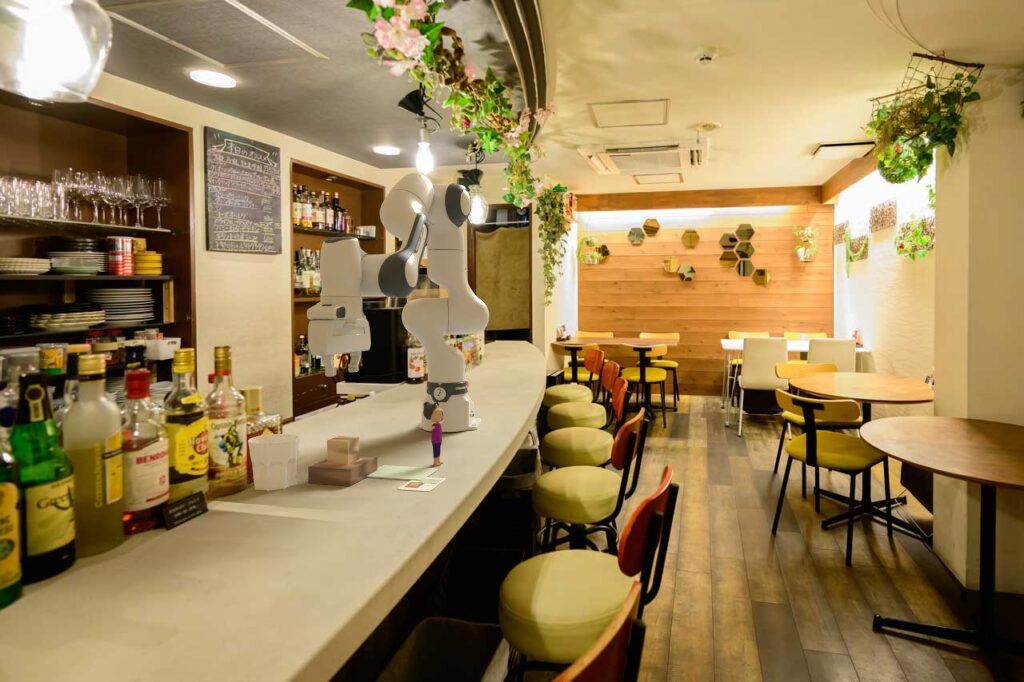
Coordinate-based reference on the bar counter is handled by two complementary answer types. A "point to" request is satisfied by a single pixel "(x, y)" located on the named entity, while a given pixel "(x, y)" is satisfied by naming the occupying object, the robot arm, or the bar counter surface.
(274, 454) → the cup
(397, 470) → the sage mat
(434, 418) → the toy
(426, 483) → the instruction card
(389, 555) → the bar counter surface
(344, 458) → the oak cube
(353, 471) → the base brick
